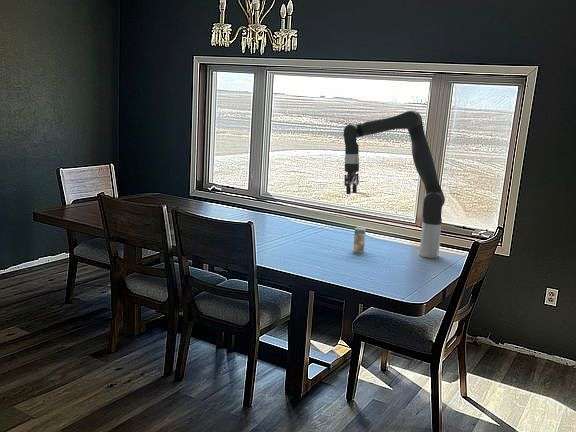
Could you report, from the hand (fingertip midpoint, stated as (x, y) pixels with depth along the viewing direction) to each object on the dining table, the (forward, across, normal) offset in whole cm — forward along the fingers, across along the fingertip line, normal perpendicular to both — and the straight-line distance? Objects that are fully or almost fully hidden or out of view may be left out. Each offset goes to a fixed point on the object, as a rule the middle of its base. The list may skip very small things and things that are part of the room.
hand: (351, 193), depth 311 cm
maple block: (+29, -11, -8) cm, 32 cm away
